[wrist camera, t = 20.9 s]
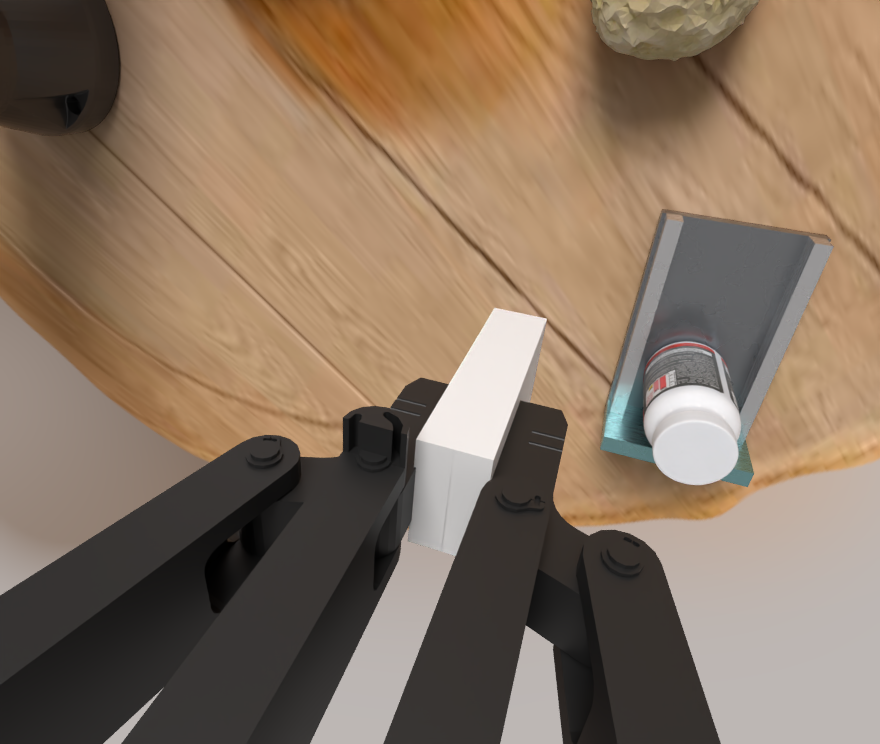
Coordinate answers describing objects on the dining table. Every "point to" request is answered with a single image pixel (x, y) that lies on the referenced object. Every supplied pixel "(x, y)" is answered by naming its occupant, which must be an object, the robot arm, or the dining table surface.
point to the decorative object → (667, 25)
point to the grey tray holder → (714, 315)
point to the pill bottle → (691, 413)
